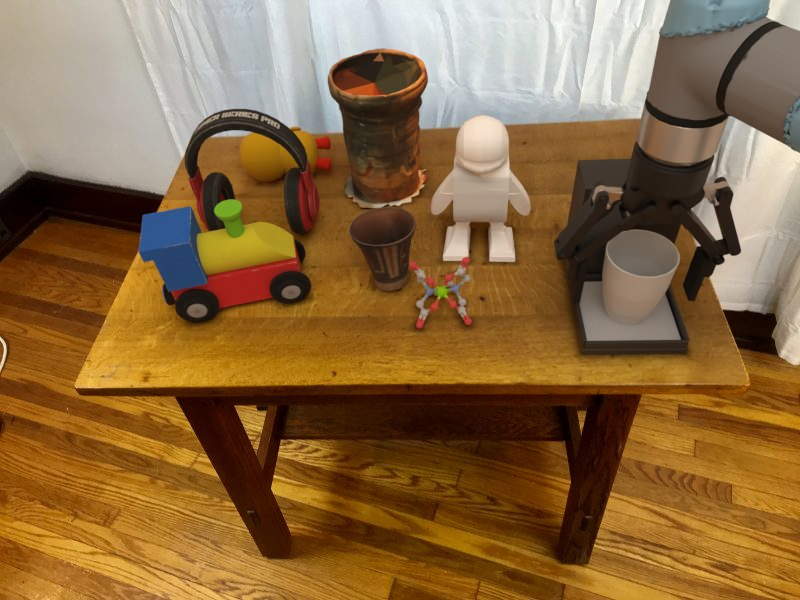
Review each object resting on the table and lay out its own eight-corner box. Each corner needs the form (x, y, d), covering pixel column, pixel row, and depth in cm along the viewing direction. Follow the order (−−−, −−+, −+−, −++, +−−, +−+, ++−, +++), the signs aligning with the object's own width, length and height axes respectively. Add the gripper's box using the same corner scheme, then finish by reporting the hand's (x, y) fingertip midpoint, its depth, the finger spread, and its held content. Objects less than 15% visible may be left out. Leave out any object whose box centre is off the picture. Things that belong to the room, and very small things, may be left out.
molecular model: (411, 290, 86) (407, 251, 80) (468, 286, 85) (469, 246, 80) (413, 330, 81) (410, 291, 75) (474, 326, 80) (475, 286, 75)
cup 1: (389, 246, 92) (383, 191, 85) (432, 274, 87) (430, 219, 80) (344, 277, 88) (333, 223, 81) (387, 309, 84) (380, 255, 76)
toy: (332, 135, 108) (246, 139, 108) (327, 116, 100) (233, 121, 99) (334, 186, 107) (247, 190, 107) (329, 171, 99) (235, 175, 99)
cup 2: (673, 322, 77) (695, 264, 70) (617, 343, 75) (634, 286, 68) (633, 279, 82) (650, 222, 75) (580, 299, 81) (592, 241, 73)
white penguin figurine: (430, 260, 89) (424, 140, 75) (434, 220, 95) (429, 101, 81) (528, 262, 88) (542, 139, 73) (525, 221, 94) (538, 100, 79)
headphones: (324, 205, 100) (301, 90, 85) (319, 247, 93) (293, 130, 78) (217, 211, 101) (176, 98, 86) (204, 253, 94) (157, 138, 79)
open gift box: (686, 354, 75) (728, 258, 64) (581, 355, 76) (604, 261, 64) (651, 252, 87) (681, 156, 76) (562, 254, 88) (577, 160, 77)
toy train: (171, 286, 89) (130, 204, 78) (308, 259, 91) (287, 175, 80) (168, 332, 83) (124, 251, 72) (315, 302, 85) (293, 218, 74)
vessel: (433, 210, 97) (429, 92, 82) (342, 215, 98) (322, 99, 83) (430, 157, 107) (426, 43, 92) (348, 161, 107) (330, 49, 93)
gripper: (793, 120, 62) (726, 270, 78) (541, 130, 64) (526, 274, 80) (824, 163, 57) (747, 315, 73) (550, 173, 59) (531, 318, 75)
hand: (631, 294), depth 76 cm, fingers open, 13 cm apart
